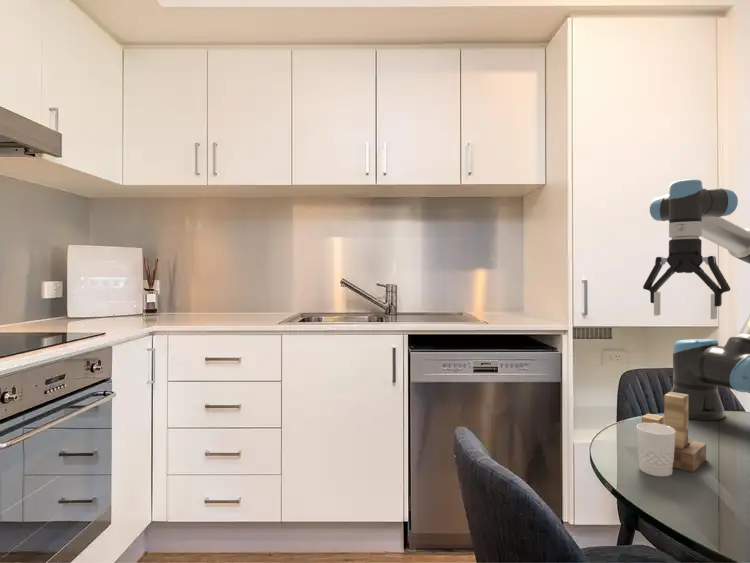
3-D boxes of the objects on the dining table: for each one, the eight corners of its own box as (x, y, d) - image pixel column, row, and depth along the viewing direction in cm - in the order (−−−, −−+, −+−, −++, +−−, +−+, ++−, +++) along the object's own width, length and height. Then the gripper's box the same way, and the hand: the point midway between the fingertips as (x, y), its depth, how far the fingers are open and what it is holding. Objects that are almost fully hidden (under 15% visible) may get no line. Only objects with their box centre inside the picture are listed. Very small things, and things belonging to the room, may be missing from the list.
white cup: (670, 465, 119) (670, 423, 119) (679, 479, 112) (680, 435, 111) (633, 462, 122) (633, 421, 121) (640, 476, 114) (640, 432, 114)
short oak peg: (647, 438, 137) (647, 413, 136) (663, 442, 134) (663, 416, 133) (641, 442, 134) (641, 416, 134) (658, 446, 131) (658, 420, 131)
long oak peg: (669, 455, 125) (670, 391, 125) (688, 459, 122) (688, 394, 122) (664, 459, 123) (664, 394, 122) (682, 464, 120) (683, 398, 119)
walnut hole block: (661, 448, 130) (661, 433, 129) (706, 459, 122) (706, 443, 122) (646, 459, 123) (646, 443, 123) (692, 472, 115) (693, 455, 115)
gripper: (630, 240, 142) (630, 314, 143) (737, 236, 124) (736, 322, 125) (641, 240, 147) (640, 312, 148) (744, 236, 129) (743, 319, 130)
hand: (684, 317), depth 137 cm, fingers open, 13 cm apart
